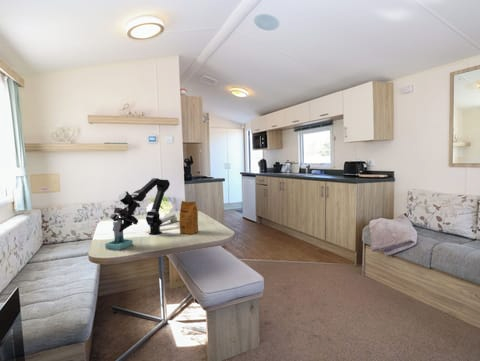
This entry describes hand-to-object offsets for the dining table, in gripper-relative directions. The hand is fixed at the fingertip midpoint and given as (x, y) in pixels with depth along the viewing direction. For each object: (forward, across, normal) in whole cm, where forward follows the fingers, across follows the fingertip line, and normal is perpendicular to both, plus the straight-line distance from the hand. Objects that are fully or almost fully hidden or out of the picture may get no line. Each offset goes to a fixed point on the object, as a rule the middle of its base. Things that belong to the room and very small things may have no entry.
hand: (116, 231), depth 167 cm
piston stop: (+4, 0, +6) cm, 7 cm away
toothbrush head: (-31, -13, +46) cm, 57 cm away
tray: (+6, 0, +8) cm, 10 cm away
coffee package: (-22, +21, +37) cm, 48 cm away
